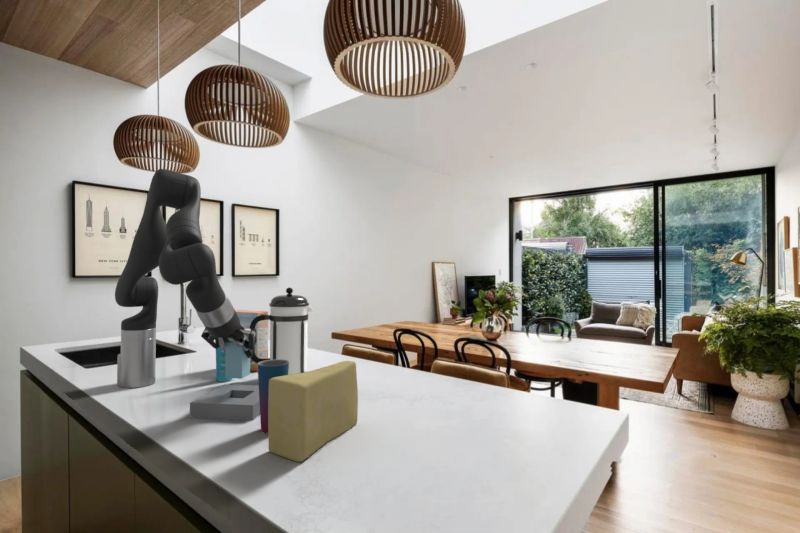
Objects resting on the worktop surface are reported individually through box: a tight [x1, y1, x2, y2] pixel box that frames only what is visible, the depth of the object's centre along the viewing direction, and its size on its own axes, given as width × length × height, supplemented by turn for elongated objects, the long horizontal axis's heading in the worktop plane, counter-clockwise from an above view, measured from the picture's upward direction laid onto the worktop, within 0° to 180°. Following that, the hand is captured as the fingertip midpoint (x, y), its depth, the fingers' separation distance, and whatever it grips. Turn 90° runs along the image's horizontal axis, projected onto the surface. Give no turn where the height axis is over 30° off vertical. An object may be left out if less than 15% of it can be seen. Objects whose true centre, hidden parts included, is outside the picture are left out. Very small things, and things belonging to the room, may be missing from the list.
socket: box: [189, 384, 260, 421], centre depth 108 cm, size 16×16×4 cm
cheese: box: [267, 360, 359, 463], centre depth 89 cm, size 22×10×15 cm, turn 147°
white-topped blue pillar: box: [225, 329, 251, 380], centre depth 108 cm, size 4×4×12 cm
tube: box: [214, 339, 234, 382], centre depth 135 cm, size 7×5×19 cm, turn 134°
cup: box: [257, 359, 289, 434], centre depth 93 cm, size 7×7×15 cm
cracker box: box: [235, 309, 269, 373], centre depth 150 cm, size 14×6×21 cm, turn 65°
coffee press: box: [250, 287, 314, 375], centre depth 138 cm, size 17×16×30 cm
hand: (241, 354), depth 110 cm, fingers closed on white-topped blue pillar, 4 cm apart
